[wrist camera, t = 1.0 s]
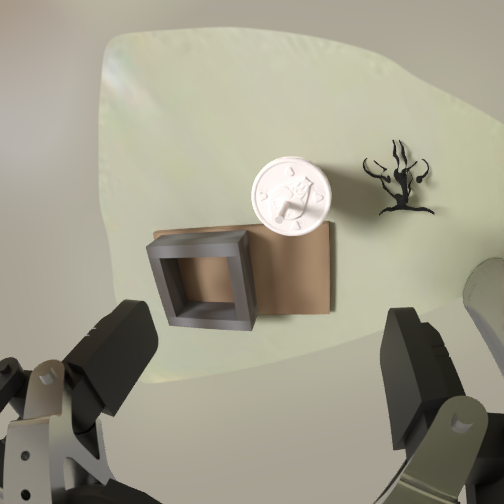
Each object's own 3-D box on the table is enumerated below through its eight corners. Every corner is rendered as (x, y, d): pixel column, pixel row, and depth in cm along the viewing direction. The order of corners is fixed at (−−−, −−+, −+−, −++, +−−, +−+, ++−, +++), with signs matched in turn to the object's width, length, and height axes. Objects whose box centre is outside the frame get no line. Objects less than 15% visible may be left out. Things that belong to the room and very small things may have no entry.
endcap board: (328, 220, 32) (329, 236, 27) (329, 309, 36) (329, 333, 32) (156, 230, 37) (136, 245, 32) (176, 306, 42) (162, 326, 37)
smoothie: (257, 180, 31) (216, 216, 19) (295, 137, 29) (279, 141, 16) (300, 218, 32) (288, 277, 20) (339, 177, 29) (356, 212, 17)
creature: (358, 142, 28) (364, 213, 30) (366, 132, 23) (372, 217, 25) (422, 143, 26) (427, 212, 28) (440, 135, 21) (446, 216, 23)
